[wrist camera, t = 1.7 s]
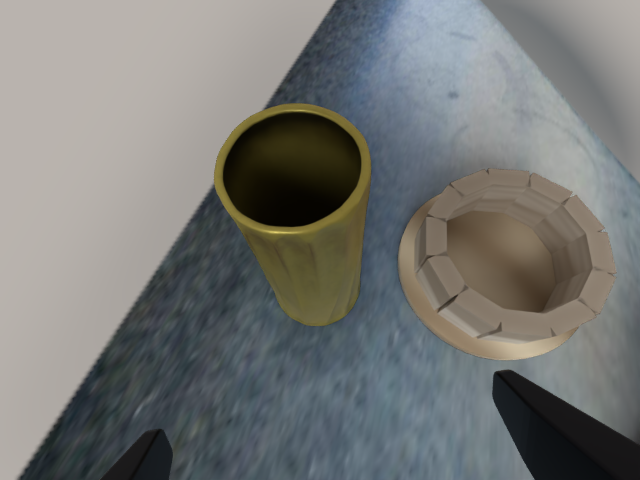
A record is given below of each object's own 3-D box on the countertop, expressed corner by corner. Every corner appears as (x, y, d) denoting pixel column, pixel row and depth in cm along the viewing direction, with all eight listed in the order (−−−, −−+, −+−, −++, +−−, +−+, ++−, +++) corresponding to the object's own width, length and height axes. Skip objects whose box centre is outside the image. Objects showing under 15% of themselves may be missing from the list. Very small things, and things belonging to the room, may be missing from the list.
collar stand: (534, 403, 20) (583, 408, 16) (363, 285, 24) (369, 265, 20) (607, 249, 24) (663, 221, 20) (450, 166, 27) (469, 127, 23)
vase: (269, 323, 23) (179, 244, 10) (280, 241, 25) (218, 91, 12) (358, 329, 23) (387, 254, 10) (360, 245, 25) (385, 93, 12)
